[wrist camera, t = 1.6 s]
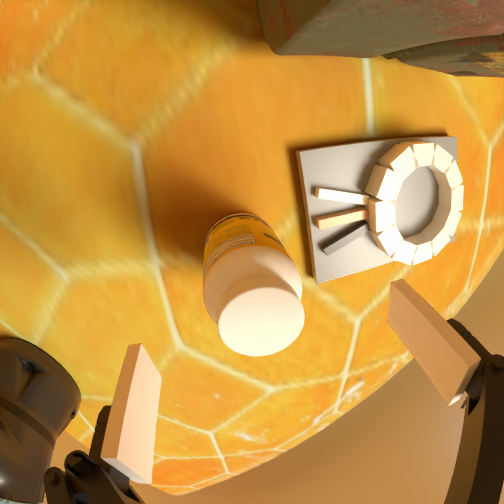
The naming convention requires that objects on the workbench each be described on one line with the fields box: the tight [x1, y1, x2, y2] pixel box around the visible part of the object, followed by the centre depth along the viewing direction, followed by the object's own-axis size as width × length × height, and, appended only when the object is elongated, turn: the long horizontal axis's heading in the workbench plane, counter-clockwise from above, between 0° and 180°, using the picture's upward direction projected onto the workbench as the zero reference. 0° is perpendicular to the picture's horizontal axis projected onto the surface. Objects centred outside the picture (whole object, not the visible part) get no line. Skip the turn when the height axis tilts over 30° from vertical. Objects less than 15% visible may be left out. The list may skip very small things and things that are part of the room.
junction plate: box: [295, 136, 464, 284], centre depth 23 cm, size 18×12×3 cm, turn 102°
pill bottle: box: [203, 213, 304, 356], centre depth 19 cm, size 6×6×11 cm
